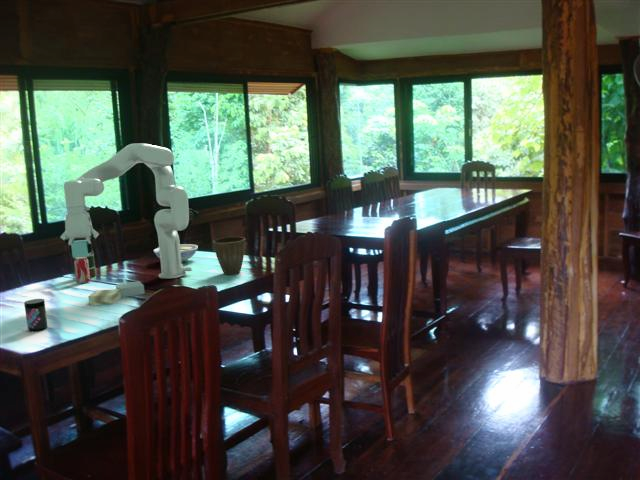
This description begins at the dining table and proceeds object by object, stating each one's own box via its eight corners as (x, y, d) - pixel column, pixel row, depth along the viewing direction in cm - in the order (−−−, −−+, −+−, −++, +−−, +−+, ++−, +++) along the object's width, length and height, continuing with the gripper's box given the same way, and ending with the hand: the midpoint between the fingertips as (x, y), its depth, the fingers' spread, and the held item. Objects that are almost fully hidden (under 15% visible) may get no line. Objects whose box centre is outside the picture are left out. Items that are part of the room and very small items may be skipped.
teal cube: (91, 253, 288) (89, 239, 287) (87, 256, 282) (85, 242, 281) (76, 254, 287) (75, 240, 286) (72, 257, 281) (70, 243, 280)
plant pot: (227, 278, 309) (224, 243, 307) (209, 274, 321) (206, 240, 318) (254, 272, 319) (251, 238, 316) (235, 268, 330) (233, 235, 327)
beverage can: (86, 284, 315) (83, 258, 313) (74, 284, 317) (70, 258, 315) (93, 280, 321) (90, 255, 319) (81, 281, 323) (78, 256, 321)
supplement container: (25, 329, 246) (21, 301, 244) (44, 325, 250) (40, 297, 248) (31, 333, 241) (27, 304, 239) (50, 328, 245) (47, 300, 243)
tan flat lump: (121, 298, 286) (120, 289, 285) (114, 304, 276) (113, 294, 275) (97, 299, 286) (96, 290, 285) (89, 305, 276) (88, 296, 275)
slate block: (140, 289, 299) (139, 281, 298) (144, 294, 290) (143, 285, 289) (116, 293, 295) (115, 284, 294) (120, 298, 286) (119, 288, 285)
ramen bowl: (194, 265, 343) (192, 249, 341) (149, 268, 343) (147, 252, 342) (203, 256, 367) (202, 241, 366) (161, 258, 368) (159, 243, 366)
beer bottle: (80, 279, 326) (74, 230, 321) (78, 276, 332) (72, 228, 328) (97, 277, 329) (92, 228, 325) (94, 274, 336) (89, 226, 332)
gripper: (100, 207, 285) (105, 250, 289) (58, 210, 284) (63, 253, 288) (95, 210, 278) (100, 253, 281) (52, 213, 277) (58, 256, 280)
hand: (81, 253), depth 284 cm, fingers closed on teal cube, 6 cm apart
